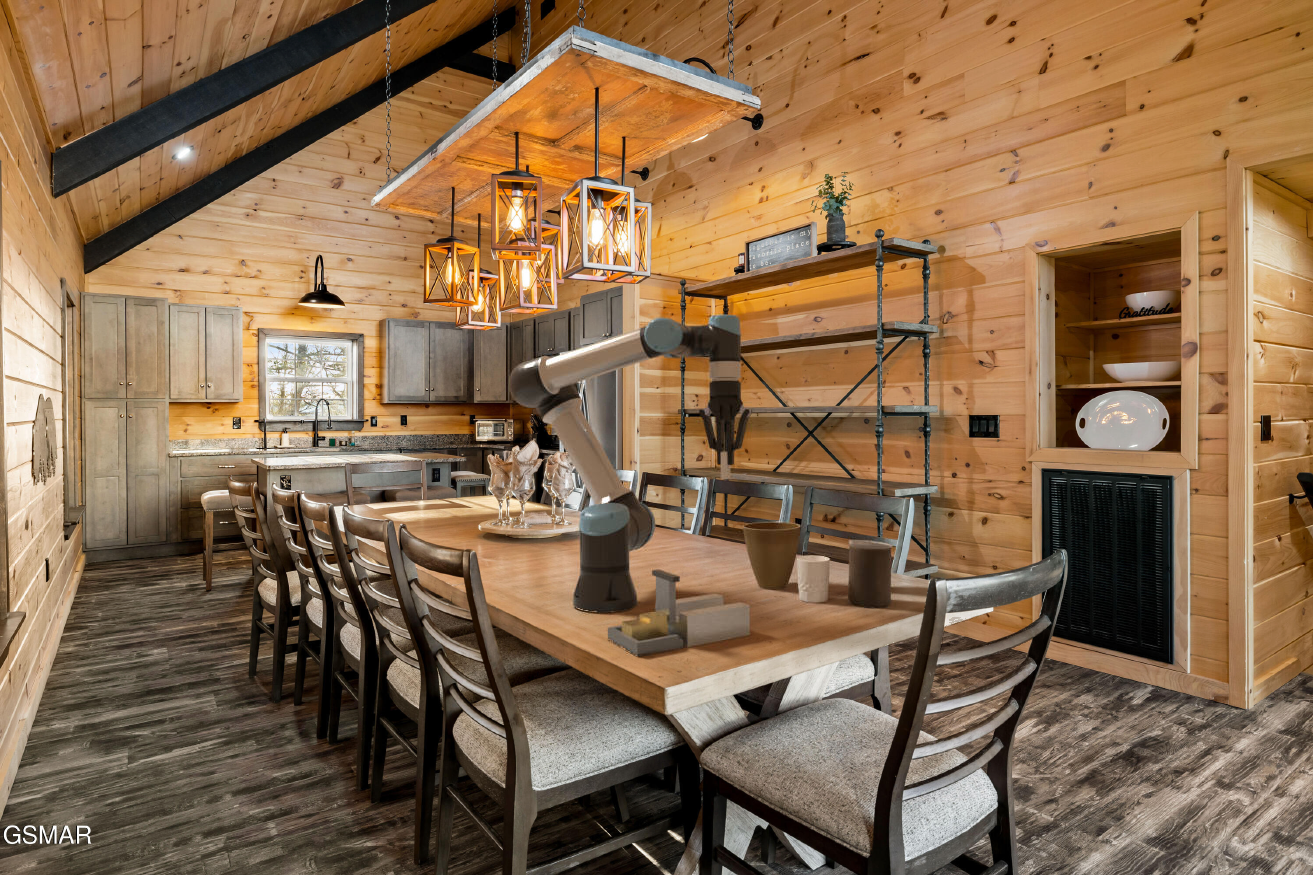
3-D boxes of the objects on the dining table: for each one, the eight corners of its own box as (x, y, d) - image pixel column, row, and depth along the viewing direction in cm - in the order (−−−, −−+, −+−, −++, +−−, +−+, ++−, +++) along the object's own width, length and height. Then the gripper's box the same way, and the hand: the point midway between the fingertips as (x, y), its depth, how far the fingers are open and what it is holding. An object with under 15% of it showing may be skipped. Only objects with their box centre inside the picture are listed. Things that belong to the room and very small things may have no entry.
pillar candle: (866, 609, 165) (867, 544, 165) (839, 600, 174) (840, 537, 174) (900, 605, 169) (901, 541, 169) (872, 596, 178) (872, 535, 178)
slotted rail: (715, 621, 157) (715, 593, 157) (749, 634, 147) (749, 605, 147) (655, 631, 150) (655, 602, 149) (687, 647, 139) (687, 615, 139)
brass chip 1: (639, 618, 143) (621, 621, 141) (649, 623, 140) (631, 626, 137) (639, 638, 143) (621, 642, 141) (650, 644, 140) (631, 647, 138)
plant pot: (793, 579, 198) (792, 520, 197) (807, 592, 183) (807, 528, 183) (738, 580, 197) (738, 521, 197) (748, 593, 182) (748, 529, 182)
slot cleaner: (658, 613, 148) (658, 569, 147) (680, 622, 141) (679, 576, 140) (652, 614, 147) (652, 570, 147) (673, 623, 140) (673, 577, 140)
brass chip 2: (657, 630, 145) (657, 610, 145) (668, 635, 142) (667, 615, 142) (640, 634, 143) (639, 614, 143) (650, 639, 140) (649, 618, 140)
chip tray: (651, 632, 149) (651, 620, 149) (683, 647, 139) (682, 634, 139) (607, 640, 144) (607, 627, 144) (637, 656, 134) (637, 643, 134)
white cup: (830, 604, 171) (830, 561, 171) (796, 602, 172) (796, 560, 172) (829, 596, 179) (829, 555, 178) (796, 595, 180) (796, 554, 180)
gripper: (755, 380, 175) (756, 478, 175) (705, 382, 180) (705, 477, 181) (746, 378, 168) (747, 480, 168) (693, 380, 173) (694, 479, 174)
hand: (725, 478), depth 174 cm, fingers closed
